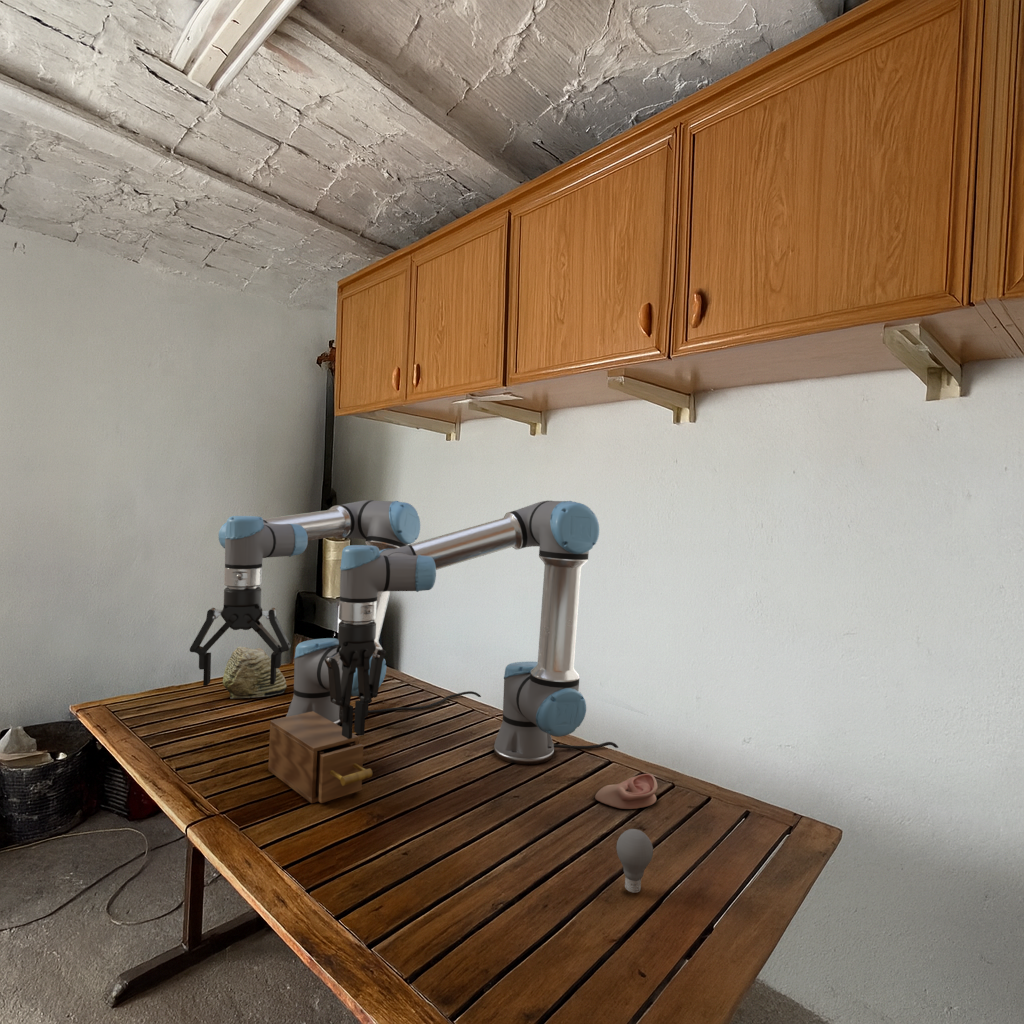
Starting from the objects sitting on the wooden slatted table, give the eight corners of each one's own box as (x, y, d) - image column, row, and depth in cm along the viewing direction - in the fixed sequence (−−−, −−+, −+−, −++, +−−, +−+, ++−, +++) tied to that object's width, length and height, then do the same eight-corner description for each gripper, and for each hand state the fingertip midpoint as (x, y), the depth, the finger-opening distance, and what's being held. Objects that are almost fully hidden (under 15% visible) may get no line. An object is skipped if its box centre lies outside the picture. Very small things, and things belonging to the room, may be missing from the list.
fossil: (218, 695, 195) (220, 647, 195) (278, 685, 208) (279, 640, 207) (228, 703, 189) (230, 653, 188) (289, 692, 201) (290, 645, 201)
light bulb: (610, 879, 108) (613, 822, 108) (644, 879, 109) (647, 822, 109) (619, 902, 102) (622, 840, 102) (655, 901, 103) (658, 840, 103)
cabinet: (356, 788, 138) (358, 736, 138) (311, 803, 131) (313, 748, 130) (311, 758, 153) (313, 711, 153) (268, 770, 145) (270, 720, 145)
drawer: (377, 800, 131) (379, 754, 131) (336, 815, 125) (338, 766, 124) (317, 760, 149) (318, 720, 149) (278, 771, 143) (280, 729, 143)
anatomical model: (594, 786, 135) (598, 765, 146) (593, 805, 135) (597, 782, 146) (658, 795, 132) (657, 772, 143) (657, 814, 132) (656, 790, 143)
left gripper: (175, 588, 132) (172, 689, 132) (300, 589, 137) (297, 687, 138) (186, 583, 139) (183, 679, 140) (304, 584, 144) (301, 677, 145)
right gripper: (333, 628, 121) (328, 749, 122) (399, 620, 132) (394, 731, 133) (314, 621, 127) (309, 738, 127) (379, 614, 138) (374, 721, 138)
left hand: (240, 683), depth 139 cm, fingers open, 13 cm apart
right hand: (353, 734), depth 130 cm, fingers open, 2 cm apart
